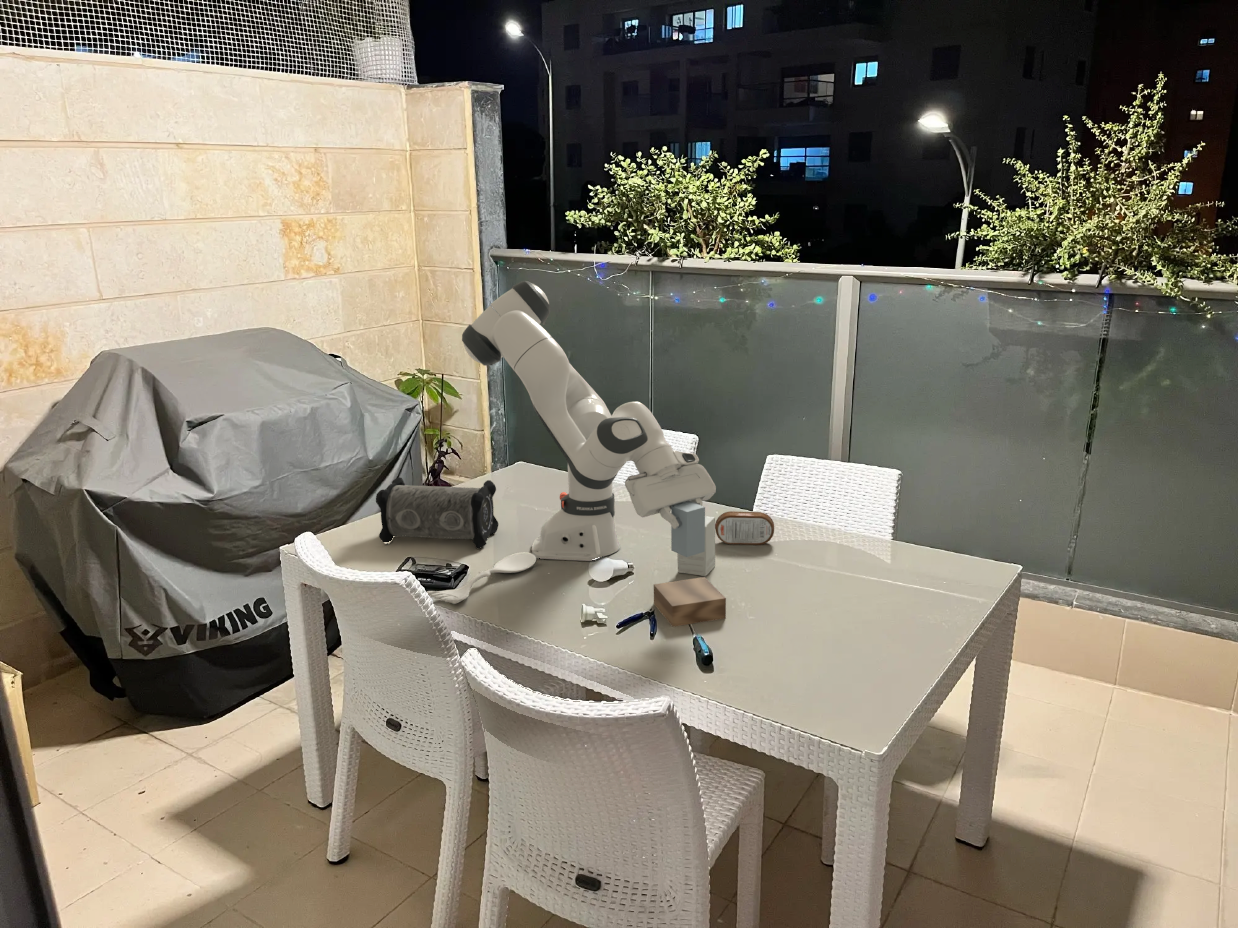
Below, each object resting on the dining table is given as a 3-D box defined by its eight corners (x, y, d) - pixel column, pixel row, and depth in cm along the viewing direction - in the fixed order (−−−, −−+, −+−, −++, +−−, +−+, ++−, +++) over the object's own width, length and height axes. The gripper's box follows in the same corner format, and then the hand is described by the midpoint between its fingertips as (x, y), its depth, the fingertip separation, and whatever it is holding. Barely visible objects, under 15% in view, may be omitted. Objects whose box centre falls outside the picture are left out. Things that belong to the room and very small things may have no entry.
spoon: (424, 605, 213) (423, 590, 212) (515, 558, 238) (514, 545, 237) (454, 614, 208) (453, 599, 207) (544, 565, 233) (543, 552, 232)
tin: (773, 541, 245) (774, 511, 242) (774, 546, 242) (775, 515, 240) (714, 541, 246) (715, 510, 244) (714, 545, 243) (715, 514, 241)
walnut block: (672, 628, 199) (672, 606, 198) (653, 605, 210) (653, 584, 209) (725, 619, 203) (725, 598, 201) (704, 597, 214) (704, 576, 212)
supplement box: (716, 565, 230) (716, 516, 227) (705, 577, 224) (705, 526, 220) (687, 561, 233) (687, 512, 230) (676, 572, 227) (676, 522, 223)
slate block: (671, 550, 203) (671, 505, 200) (689, 545, 206) (689, 501, 203) (686, 557, 199) (687, 511, 196) (704, 551, 202) (705, 506, 199)
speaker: (483, 551, 243) (480, 495, 238) (377, 547, 247) (372, 492, 243) (500, 531, 257) (497, 478, 253) (399, 527, 261) (395, 474, 257)
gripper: (628, 470, 196) (658, 527, 192) (702, 452, 208) (732, 506, 203) (615, 485, 201) (644, 541, 196) (688, 467, 213) (717, 520, 208)
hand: (690, 523), depth 200 cm, fingers closed on slate block, 5 cm apart
